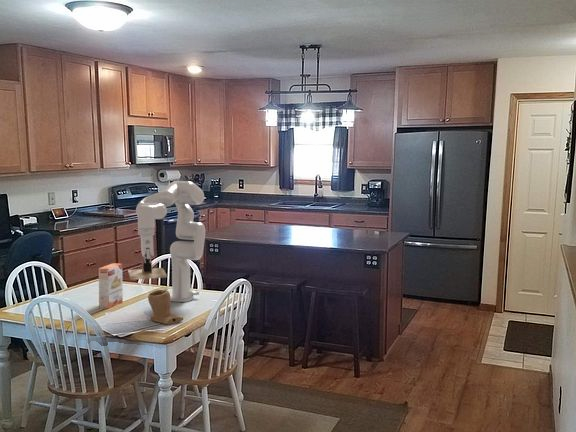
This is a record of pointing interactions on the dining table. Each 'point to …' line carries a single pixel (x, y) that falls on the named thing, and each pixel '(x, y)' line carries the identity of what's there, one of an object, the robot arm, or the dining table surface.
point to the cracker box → (110, 285)
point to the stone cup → (162, 307)
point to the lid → (146, 273)
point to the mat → (125, 316)
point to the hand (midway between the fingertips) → (147, 270)
